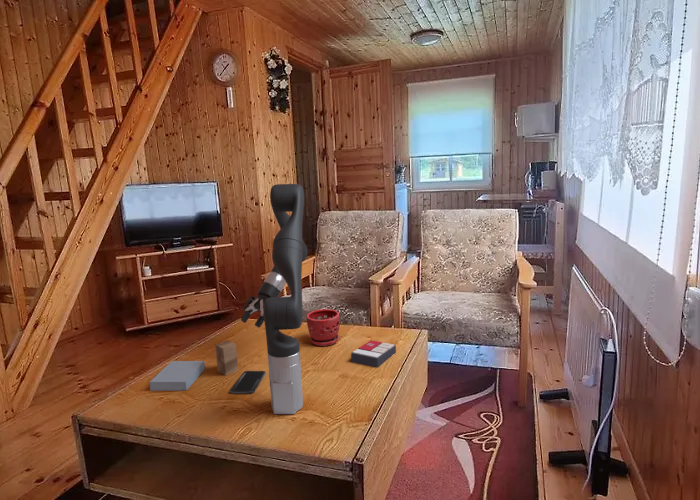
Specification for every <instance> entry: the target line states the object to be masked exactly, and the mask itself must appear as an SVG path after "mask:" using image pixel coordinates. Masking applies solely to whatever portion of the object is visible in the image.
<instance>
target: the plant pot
mask: <svg viewBox="0 0 700 500" xmlns="http://www.w3.org/2000/svg"><path fill="white" fill-rule="evenodd" d="M325 316H326V317H325ZM319 317H321V319H319ZM340 317H341V316H340V312H339V311H338V310H335V309H330V308H328V309H327V308H325V309H324V308H323V309H322V308H321V309H316V310H313V311H311V312H309V313H307V314H306V325H307V329H308V332H309V335H310V336H311V337H310V342H311V343H312V344H314V345H315V346H320V347H325V346H327V347H328V346H332V345H334V344H336V343H337V342H338V341H339V339H340V336H339V330H340V324H341V320H340Z"/></svg>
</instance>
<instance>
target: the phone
mask: <svg viewBox="0 0 700 500" xmlns="http://www.w3.org/2000/svg"><path fill="white" fill-rule="evenodd" d="M266 375H267V372H266V371H265V370H245V371H243V372H242V373H241V375H240V376H239V378H238V379H237V380H236V382H235V383H234V384H233V385H232V386H231V388H230V389H229V394H231V395H252V394H254V393H255V391H256V390H257V389H258V387H259V386H260V384H261V382H262V381H263V379H265V377H266Z"/></svg>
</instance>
